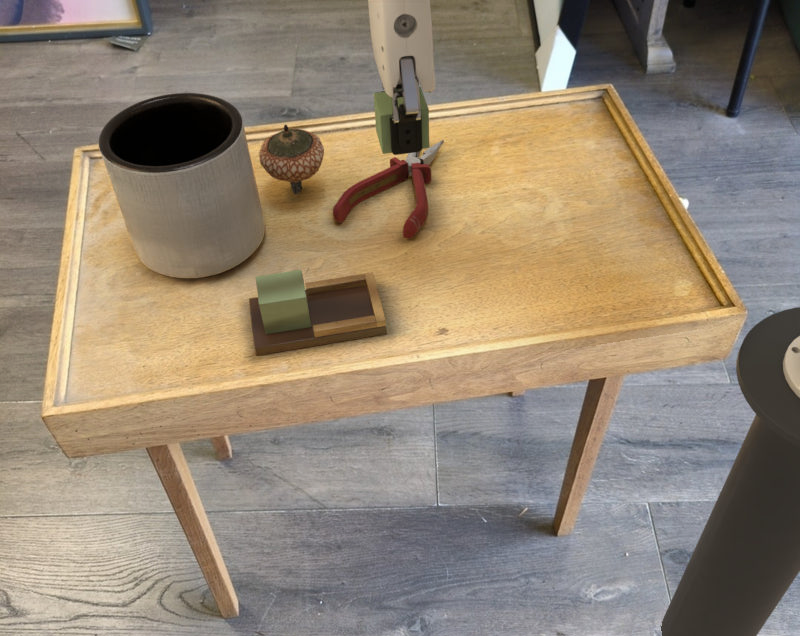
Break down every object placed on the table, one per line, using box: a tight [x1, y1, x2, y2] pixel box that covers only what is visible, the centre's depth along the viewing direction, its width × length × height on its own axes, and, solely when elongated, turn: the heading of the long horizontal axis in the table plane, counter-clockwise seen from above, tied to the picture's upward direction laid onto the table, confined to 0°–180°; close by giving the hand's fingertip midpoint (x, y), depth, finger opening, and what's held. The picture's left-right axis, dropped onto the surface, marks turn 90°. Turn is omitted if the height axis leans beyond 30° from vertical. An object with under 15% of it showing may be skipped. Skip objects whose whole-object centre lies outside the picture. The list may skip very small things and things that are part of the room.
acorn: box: [258, 124, 325, 196], centre depth 105 cm, size 8×8×10 cm
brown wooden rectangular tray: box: [248, 269, 388, 356], centre depth 91 cm, size 8×14×6 cm, turn 101°
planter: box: [98, 92, 266, 279], centre depth 97 cm, size 16×16×16 cm
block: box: [373, 86, 430, 155], centre depth 87 cm, size 4×5×4 cm
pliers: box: [332, 139, 445, 240], centre depth 107 cm, size 12×20×3 cm, turn 156°
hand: (402, 136), depth 89 cm, fingers closed on block, 4 cm apart
